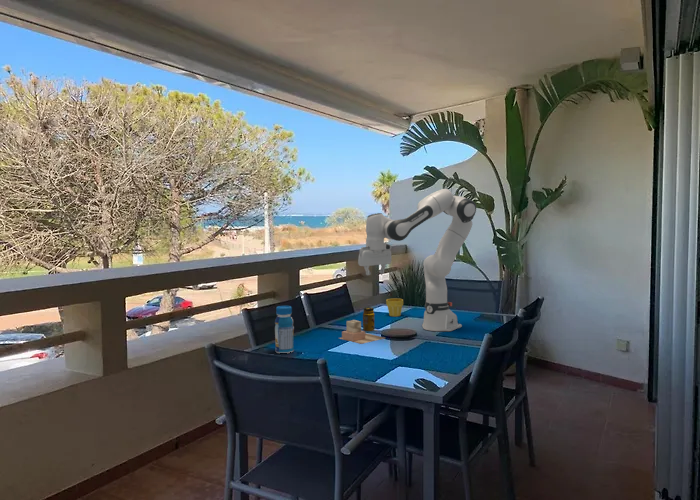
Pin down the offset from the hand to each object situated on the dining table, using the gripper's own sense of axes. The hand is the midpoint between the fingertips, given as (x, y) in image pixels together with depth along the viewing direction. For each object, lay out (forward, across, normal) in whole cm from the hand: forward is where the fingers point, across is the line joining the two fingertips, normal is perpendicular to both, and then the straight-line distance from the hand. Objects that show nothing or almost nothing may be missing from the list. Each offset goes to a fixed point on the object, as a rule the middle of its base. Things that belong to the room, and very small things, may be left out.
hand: (375, 274), depth 242 cm
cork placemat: (+31, -8, +1) cm, 32 cm away
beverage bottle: (+31, -49, +8) cm, 59 cm away
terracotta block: (+31, -12, +3) cm, 33 cm away
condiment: (+31, +6, +12) cm, 34 cm away
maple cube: (+27, -12, +3) cm, 30 cm away
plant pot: (+31, +47, +30) cm, 64 cm away
